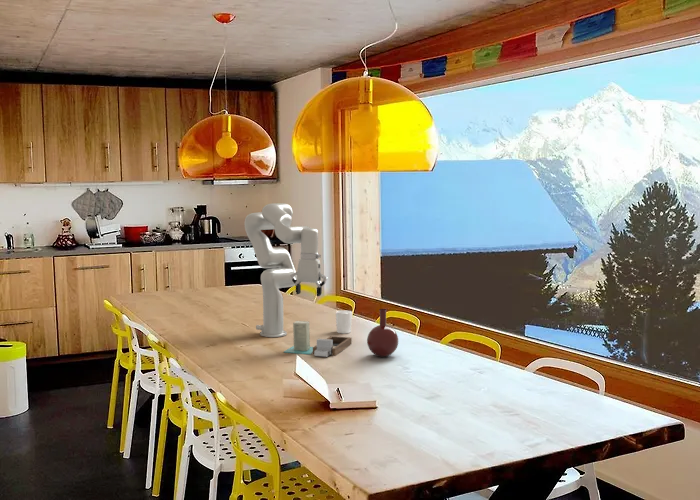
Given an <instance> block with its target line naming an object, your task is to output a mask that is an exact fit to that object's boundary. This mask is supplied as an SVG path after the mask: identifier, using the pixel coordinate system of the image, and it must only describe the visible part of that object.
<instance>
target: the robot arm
mask: <svg viewBox="0 0 700 500" xmlns="http://www.w3.org/2000/svg"><path fill="white" fill-rule="evenodd" d="M293 214H294V213H293V208H292V207H291V205H290V204H288V203H285V202H283V203H282V202H281V203H278V202H276V203H268V204H266V205H264V206H263V207H262V209H261V211H259V212H252V213H248V214H247V215H246V217H245V219H244V230H245V233H246V236H247V238H248V239H249V241H250V243H251V245H252V248H253V250H254V254H255V257H256V259H257V260H256V261H257V263H258V265H259V266H260V268H262V269H265V270H263V272H262V273H261V274H260V283H261V289H262V309H263V310H262V315H263V316H262V321H263V324H256V325H255V329H256V330H257V331H259V330H260V333H259V335H260V336H261V337H265V338H279V337H280V338H281V337H284V336H286V335H287V334H288V332H287V331H286V330H284V296H283V294H282V292H281V290H280V289H282V288H284V289H285V288H290V287H294V286H295V293H296V295H299V294H301V293H302V292H301V290H302V288H301V287H302V286H301V282H303V283H311V284H312V283H313V284H316V286H317V287H316V297H320V296H321V295H322V291H323V290H322V287H323V286H324V285H325V284H326V282H327V280H328V277H327V276H326V275H324V274H323V273H322V267H321V260H320V258H321V256H322V255H321V254H319V230H318V229H317V228H312V227H310V226H308V225H297V226H295V225H294V226H292V221H293V220H292V217H293ZM263 230H265V231H266V230H274V235H275V236H276V238H278V239H279V240H280V241H281V242H283V243H285V244H290V245H292V244H300V258H299V259H298V264H297V270H296V268H295V266H294V263H293V260H292V257H291V254H290V252H289V251H288V249H286V248H284V247H273V245H272V243H271V240H270V238H269V237H268V236H267V235H266V234H265V233H264V232H262V231H263Z"/></svg>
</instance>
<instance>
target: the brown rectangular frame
mask: <svg viewBox="0 0 700 500" xmlns="http://www.w3.org/2000/svg"><path fill="white" fill-rule="evenodd" d="M326 339H331V340H333V343H340V344H339V345H337V346H334V347H333V349H332V354H331V356H332V357H336V356H337V355H339V354H340V353H341V352H343V351H344V350H346V349H347V348H348V347H350V346H351V345H352V342H353V341H352V339H353V338H352V337H349V336H348V337H347V336H338V335H337V336H336V335H333V336H332V335H330V336H328V337H327V338H326ZM312 347H313V353H312V355H314V351H315V350H317V344H316V345H314V346H312Z"/></svg>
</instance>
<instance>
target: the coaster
mask: <svg viewBox="0 0 700 500" xmlns="http://www.w3.org/2000/svg"><path fill="white" fill-rule="evenodd" d="M313 347H314V346H310V349H309V350H307V351H301V350H294V345H292V346H290V347H288V348H287V349H285V350H283V353H285V354H287V353H288V354H296V355H297V354H298V355H302V354H303V355H313Z"/></svg>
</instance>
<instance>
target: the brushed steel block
mask: <svg viewBox="0 0 700 500" xmlns="http://www.w3.org/2000/svg"><path fill="white" fill-rule="evenodd" d="M316 345H317V350H315V351H314V354H313V355H314V356H315V357H324V358H326V357H327V358H328V357H329V356H332V349H333V348H334V346H333V340H331V339H327V338H317V339H316Z"/></svg>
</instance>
